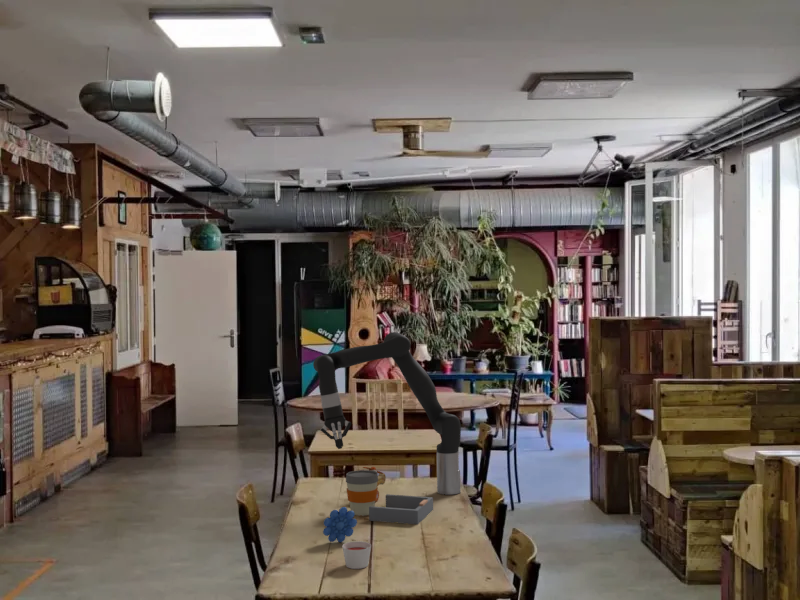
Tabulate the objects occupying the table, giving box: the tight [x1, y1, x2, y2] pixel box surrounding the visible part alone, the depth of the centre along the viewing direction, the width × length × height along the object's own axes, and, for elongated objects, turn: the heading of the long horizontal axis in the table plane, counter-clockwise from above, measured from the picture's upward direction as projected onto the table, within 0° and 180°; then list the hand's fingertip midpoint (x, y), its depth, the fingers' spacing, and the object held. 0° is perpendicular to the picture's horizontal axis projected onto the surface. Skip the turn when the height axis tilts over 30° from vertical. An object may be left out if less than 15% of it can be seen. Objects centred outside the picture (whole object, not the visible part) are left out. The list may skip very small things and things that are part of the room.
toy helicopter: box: [362, 466, 387, 503], centre depth 342 cm, size 8×21×14 cm, turn 160°
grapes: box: [322, 506, 358, 543], centre depth 282 cm, size 12×7×12 cm, turn 98°
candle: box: [341, 540, 372, 570], centre depth 257 cm, size 9×9×6 cm
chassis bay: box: [368, 493, 434, 525], centre depth 313 cm, size 19×20×6 cm
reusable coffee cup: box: [345, 469, 379, 517], centre depth 318 cm, size 13×13×15 cm
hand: (340, 448), depth 324 cm, fingers closed
